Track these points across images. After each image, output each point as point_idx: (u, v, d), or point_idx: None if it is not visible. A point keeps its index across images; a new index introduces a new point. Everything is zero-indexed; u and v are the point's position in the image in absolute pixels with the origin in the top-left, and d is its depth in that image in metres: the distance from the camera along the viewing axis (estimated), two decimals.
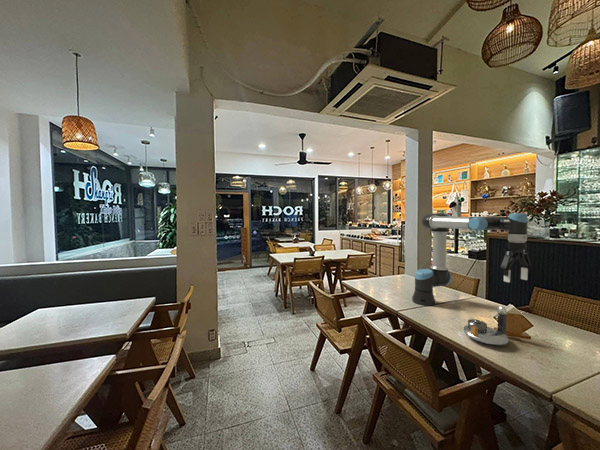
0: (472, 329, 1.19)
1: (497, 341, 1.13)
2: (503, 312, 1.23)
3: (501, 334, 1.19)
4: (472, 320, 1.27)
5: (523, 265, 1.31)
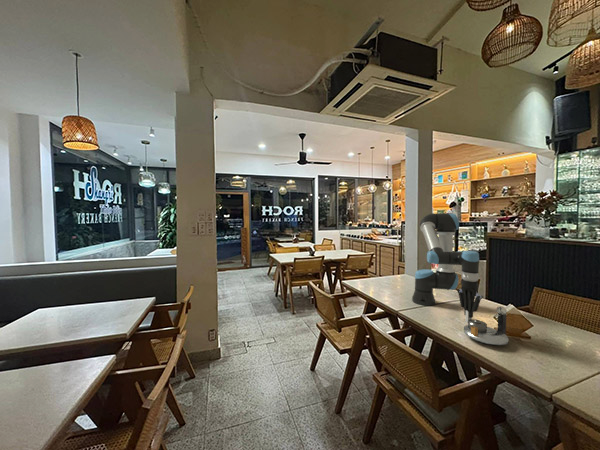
0: (472, 329, 1.19)
1: (497, 341, 1.13)
2: (503, 312, 1.23)
3: (501, 334, 1.19)
4: (472, 320, 1.27)
5: None
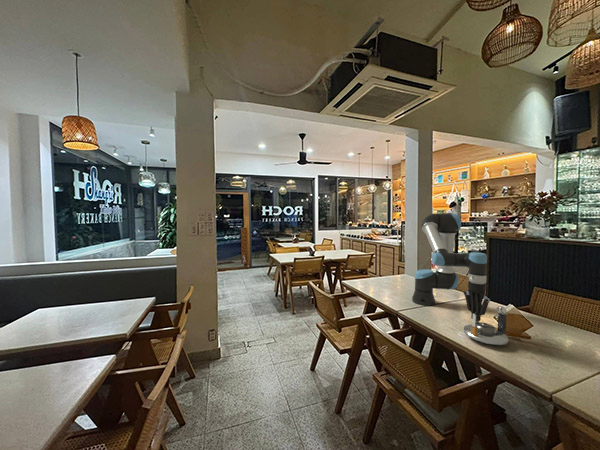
0: (472, 329, 1.19)
1: (497, 341, 1.13)
2: (503, 312, 1.23)
3: (501, 334, 1.20)
4: (479, 323, 1.24)
5: None
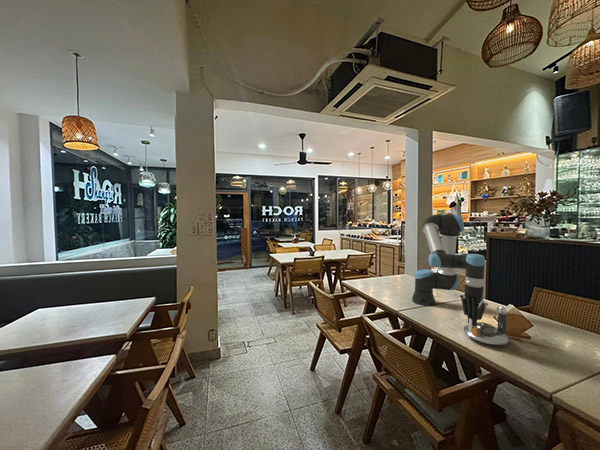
0: (473, 330, 1.18)
1: (498, 341, 1.13)
2: (503, 312, 1.23)
3: (500, 334, 1.20)
4: (479, 323, 1.24)
5: None
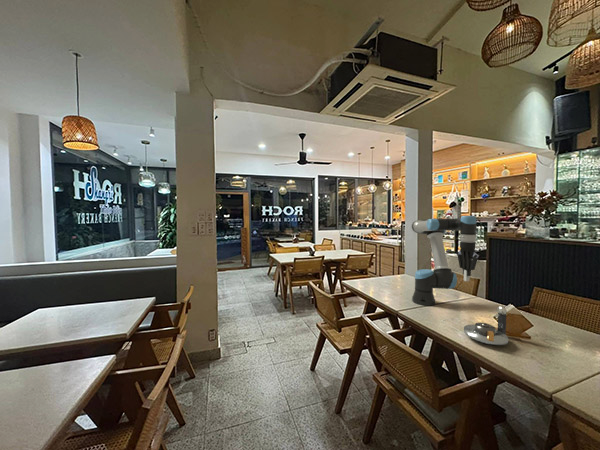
0: (490, 335, 1.13)
1: (507, 339, 1.15)
2: (503, 312, 1.23)
3: None
4: (478, 325, 1.22)
5: None
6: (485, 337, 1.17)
